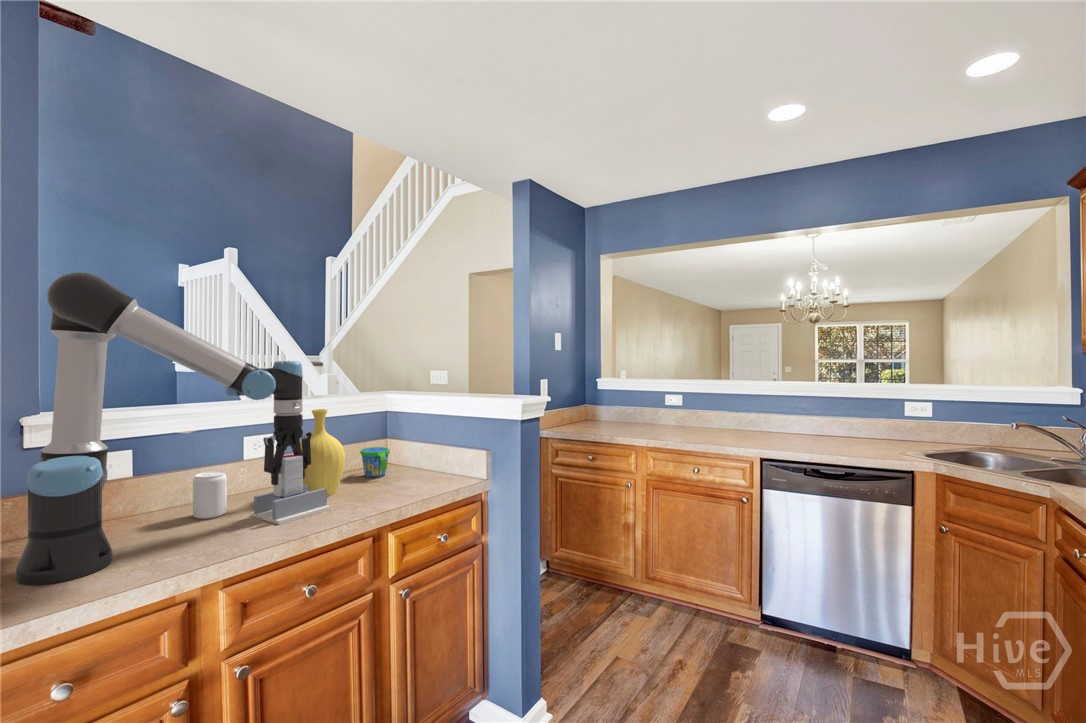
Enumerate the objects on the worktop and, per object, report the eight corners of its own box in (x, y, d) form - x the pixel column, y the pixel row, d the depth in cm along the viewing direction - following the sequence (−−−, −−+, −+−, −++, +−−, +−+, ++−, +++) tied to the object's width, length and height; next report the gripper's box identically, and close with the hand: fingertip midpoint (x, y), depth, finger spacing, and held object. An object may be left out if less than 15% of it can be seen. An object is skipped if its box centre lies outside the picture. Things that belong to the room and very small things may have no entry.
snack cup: (395, 478, 191) (395, 451, 191) (367, 482, 185) (367, 454, 185) (382, 470, 204) (382, 444, 204) (355, 473, 198) (355, 447, 198)
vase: (350, 495, 167) (350, 411, 167) (296, 503, 158) (297, 413, 158) (339, 485, 181) (339, 406, 180) (289, 491, 172) (289, 408, 171)
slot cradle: (279, 524, 139) (279, 502, 139) (250, 515, 146) (250, 495, 146) (330, 509, 153) (330, 489, 153) (301, 502, 160) (301, 483, 160)
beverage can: (210, 521, 141) (210, 478, 141) (185, 518, 143) (185, 476, 143) (233, 512, 149) (233, 471, 149) (210, 510, 151) (210, 470, 151)
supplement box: (304, 494, 150) (303, 455, 149) (284, 499, 145) (284, 459, 144) (292, 491, 153) (291, 453, 152) (273, 496, 148) (272, 457, 147)
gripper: (263, 418, 138) (264, 503, 138) (324, 411, 154) (324, 487, 155) (248, 416, 142) (248, 498, 142) (309, 410, 158) (309, 484, 158)
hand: (288, 492), depth 148 cm, fingers closed on supplement box, 6 cm apart
